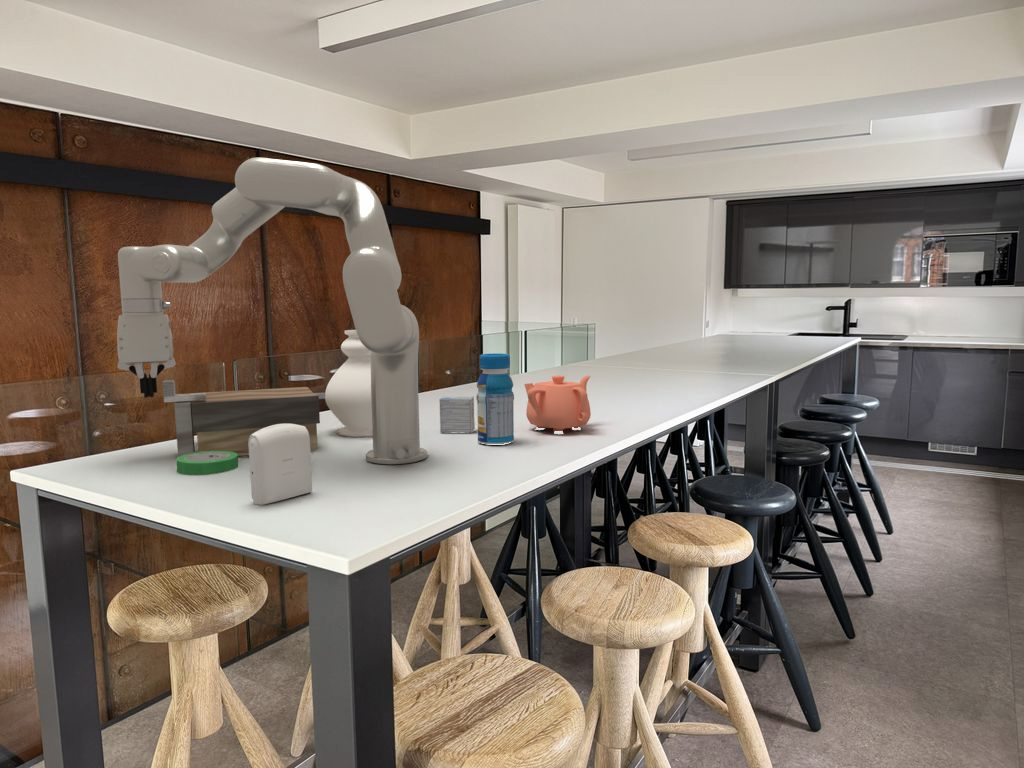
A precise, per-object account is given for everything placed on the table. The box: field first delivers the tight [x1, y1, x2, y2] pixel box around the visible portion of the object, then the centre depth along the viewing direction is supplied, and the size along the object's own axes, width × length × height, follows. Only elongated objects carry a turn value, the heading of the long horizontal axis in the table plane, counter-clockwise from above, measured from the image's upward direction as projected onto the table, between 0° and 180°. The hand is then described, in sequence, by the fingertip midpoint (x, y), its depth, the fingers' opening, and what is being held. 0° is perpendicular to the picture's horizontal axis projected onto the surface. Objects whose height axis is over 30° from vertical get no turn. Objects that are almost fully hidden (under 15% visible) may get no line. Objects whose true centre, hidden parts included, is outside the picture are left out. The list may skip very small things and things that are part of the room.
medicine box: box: [439, 395, 476, 432], centre depth 175 cm, size 8×4×9 cm, turn 84°
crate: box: [174, 401, 319, 458], centre depth 161 cm, size 20×28×11 cm
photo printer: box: [248, 424, 313, 506], centre depth 119 cm, size 10×4×12 cm, turn 140°
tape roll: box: [176, 451, 239, 476], centre depth 141 cm, size 11×11×3 cm
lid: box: [192, 386, 321, 434], centre depth 161 cm, size 23×25×6 cm
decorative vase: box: [324, 329, 373, 438], centre depth 175 cm, size 18×18×25 cm
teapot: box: [524, 375, 591, 431], centre depth 176 cm, size 16×17×14 cm
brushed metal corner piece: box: [162, 379, 206, 403], centre depth 152 cm, size 3×8×4 cm, turn 112°
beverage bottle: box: [475, 352, 515, 444], centre depth 161 cm, size 8×8×20 cm
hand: (149, 396), depth 149 cm, fingers closed
